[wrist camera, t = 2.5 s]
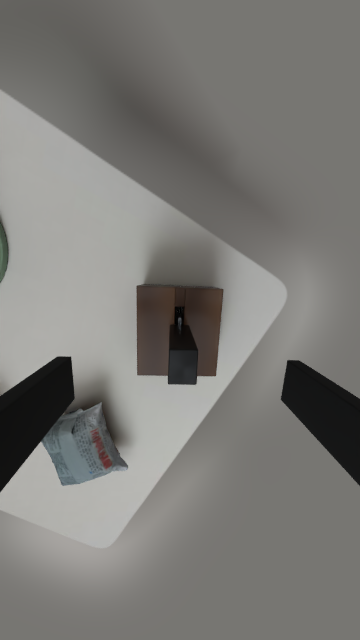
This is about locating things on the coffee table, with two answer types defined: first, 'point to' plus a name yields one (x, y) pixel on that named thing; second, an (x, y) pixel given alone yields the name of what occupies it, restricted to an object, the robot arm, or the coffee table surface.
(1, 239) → the green disc stand
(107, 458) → the packaged food
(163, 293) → the knife block
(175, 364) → the knife
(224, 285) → the coffee table surface
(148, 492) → the coffee table surface
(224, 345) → the coffee table surface
